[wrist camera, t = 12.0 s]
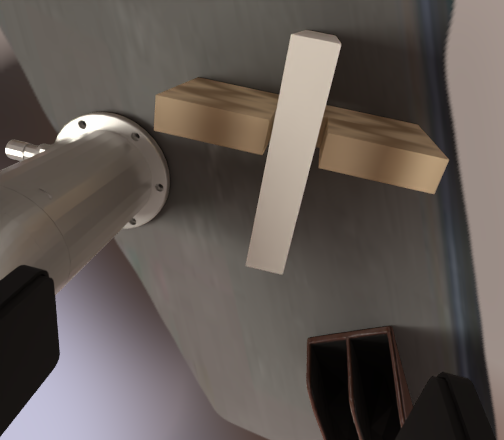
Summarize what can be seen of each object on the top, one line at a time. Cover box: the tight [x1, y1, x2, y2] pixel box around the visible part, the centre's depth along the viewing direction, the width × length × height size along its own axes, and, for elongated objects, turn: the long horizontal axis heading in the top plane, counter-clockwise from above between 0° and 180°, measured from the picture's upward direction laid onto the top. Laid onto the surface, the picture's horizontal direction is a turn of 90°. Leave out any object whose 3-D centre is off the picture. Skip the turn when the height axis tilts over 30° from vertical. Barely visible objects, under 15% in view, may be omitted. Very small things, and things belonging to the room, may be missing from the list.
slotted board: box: [154, 77, 449, 194], centre depth 31 cm, size 20×2×10 cm, turn 80°
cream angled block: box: [246, 30, 341, 275], centre depth 29 cm, size 14×2×15 cm, turn 170°
